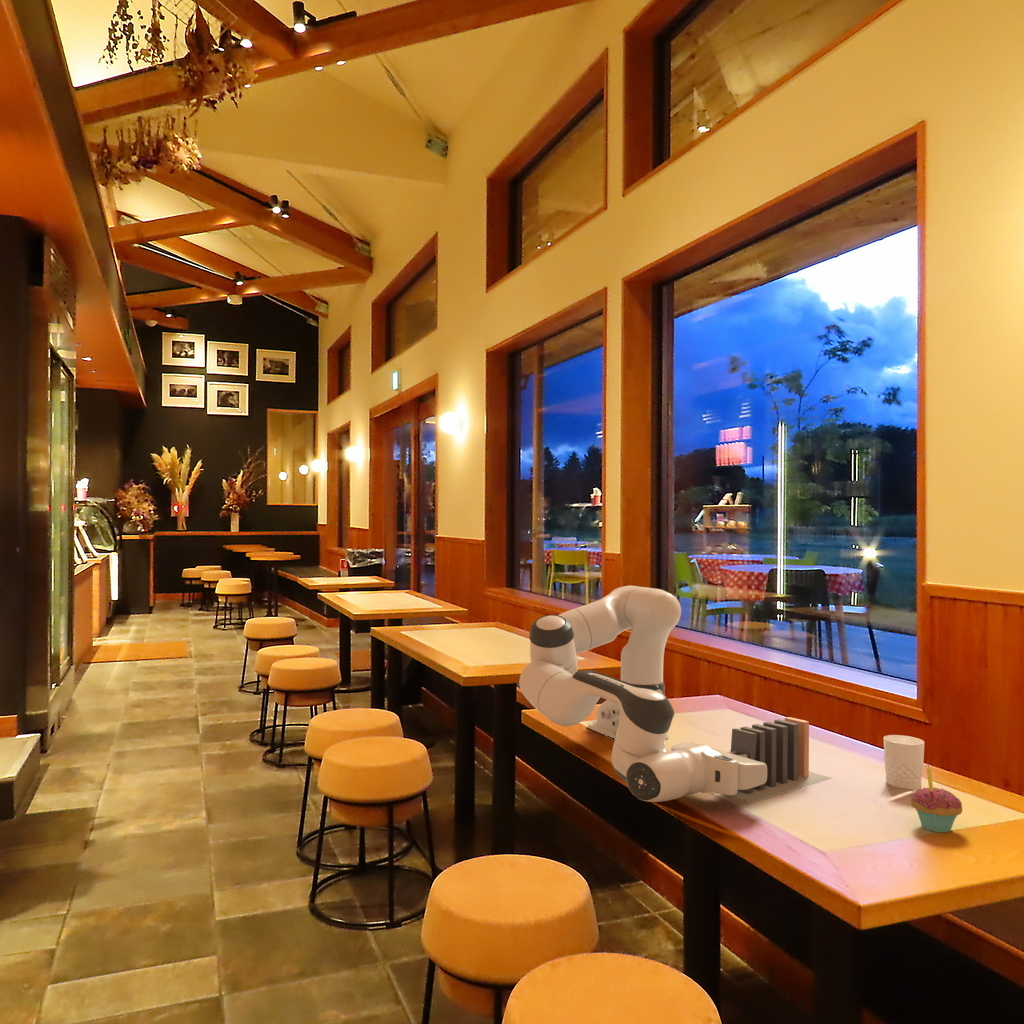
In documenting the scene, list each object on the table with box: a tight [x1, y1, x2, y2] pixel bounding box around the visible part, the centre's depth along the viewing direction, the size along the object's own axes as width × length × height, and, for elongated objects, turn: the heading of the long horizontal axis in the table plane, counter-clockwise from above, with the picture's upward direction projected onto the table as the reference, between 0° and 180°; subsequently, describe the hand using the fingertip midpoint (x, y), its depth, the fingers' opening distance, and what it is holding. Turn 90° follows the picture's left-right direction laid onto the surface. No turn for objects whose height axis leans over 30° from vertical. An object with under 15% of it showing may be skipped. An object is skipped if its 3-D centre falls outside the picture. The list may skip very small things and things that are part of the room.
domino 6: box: [784, 716, 810, 778], centre depth 180 cm, size 5×2×12 cm, turn 37°
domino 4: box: [762, 721, 788, 784], centre depth 175 cm, size 5×2×12 cm, turn 37°
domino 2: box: [739, 726, 765, 791], centre depth 170 cm, size 5×2×12 cm, turn 37°
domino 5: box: [773, 718, 798, 781], centre depth 177 cm, size 5×2×12 cm, turn 37°
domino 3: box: [751, 723, 777, 787], centre depth 173 cm, size 5×2×12 cm, turn 37°
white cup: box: [883, 734, 925, 792], centre depth 174 cm, size 8×8×10 cm
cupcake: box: [910, 763, 963, 833], centre depth 150 cm, size 9×8×12 cm
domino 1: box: [730, 728, 757, 793], centre depth 169 cm, size 5×2×12 cm, turn 37°
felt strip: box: [730, 771, 832, 803], centre depth 174 cm, size 12×28×1 cm, turn 127°
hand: (741, 757), depth 168 cm, fingers closed
